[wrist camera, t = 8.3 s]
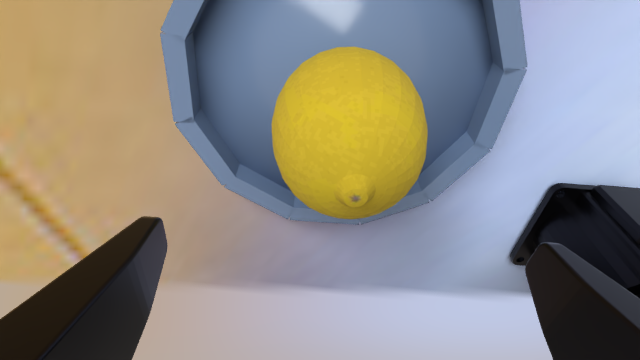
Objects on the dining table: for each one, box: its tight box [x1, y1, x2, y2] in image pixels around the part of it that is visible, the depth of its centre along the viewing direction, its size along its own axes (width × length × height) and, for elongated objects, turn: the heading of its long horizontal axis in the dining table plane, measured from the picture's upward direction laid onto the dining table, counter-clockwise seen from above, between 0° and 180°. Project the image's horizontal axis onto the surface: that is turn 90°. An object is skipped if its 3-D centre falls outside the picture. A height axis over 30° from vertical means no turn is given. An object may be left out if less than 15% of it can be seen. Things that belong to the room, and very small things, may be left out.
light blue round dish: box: [160, 0, 527, 225], centre depth 17 cm, size 15×15×2 cm
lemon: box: [272, 47, 428, 219], centre depth 14 cm, size 6×6×8 cm
